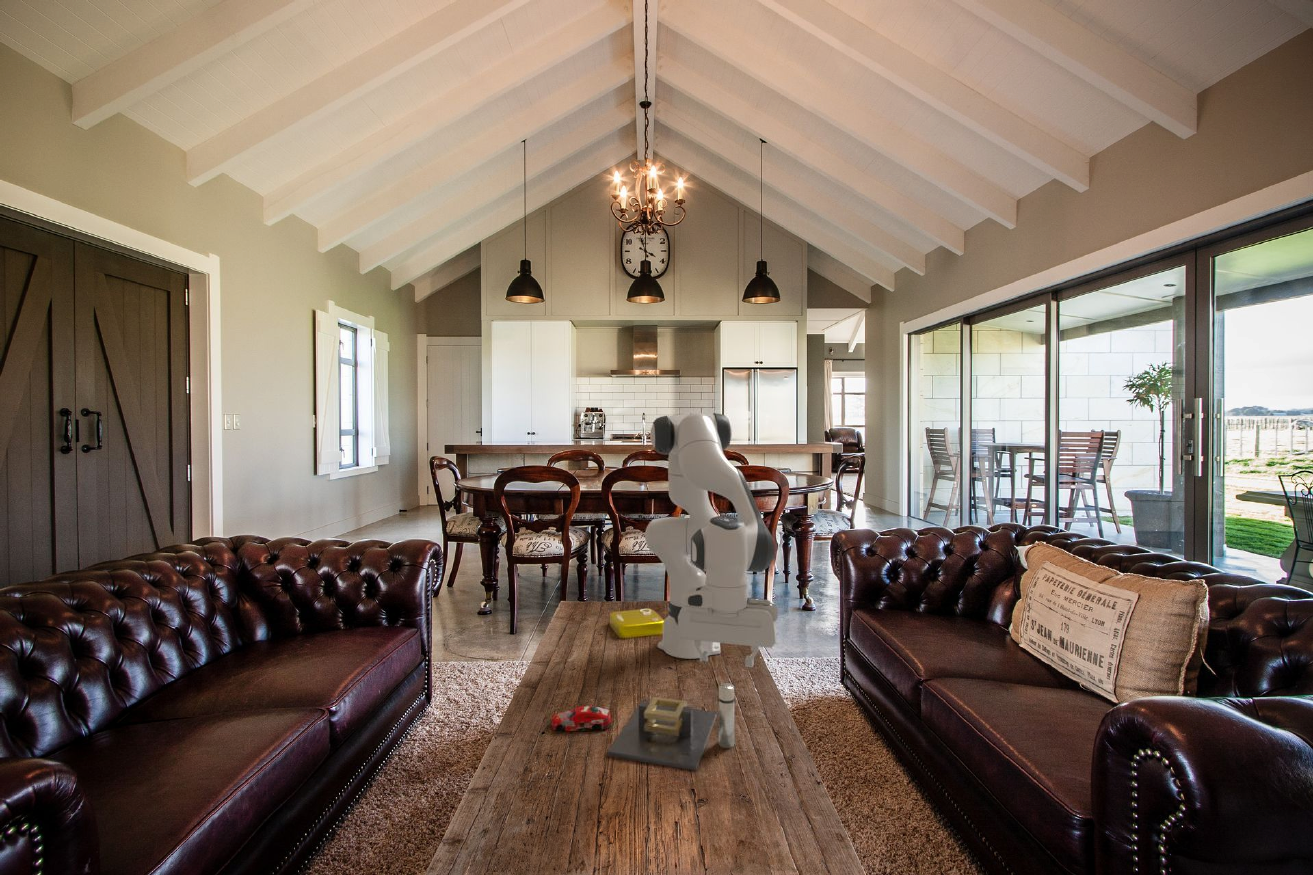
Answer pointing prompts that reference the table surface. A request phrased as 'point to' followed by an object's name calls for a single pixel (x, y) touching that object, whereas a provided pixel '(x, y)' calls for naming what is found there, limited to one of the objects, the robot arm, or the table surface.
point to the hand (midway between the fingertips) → (726, 663)
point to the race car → (582, 719)
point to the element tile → (636, 623)
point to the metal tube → (726, 715)
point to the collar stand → (665, 734)
